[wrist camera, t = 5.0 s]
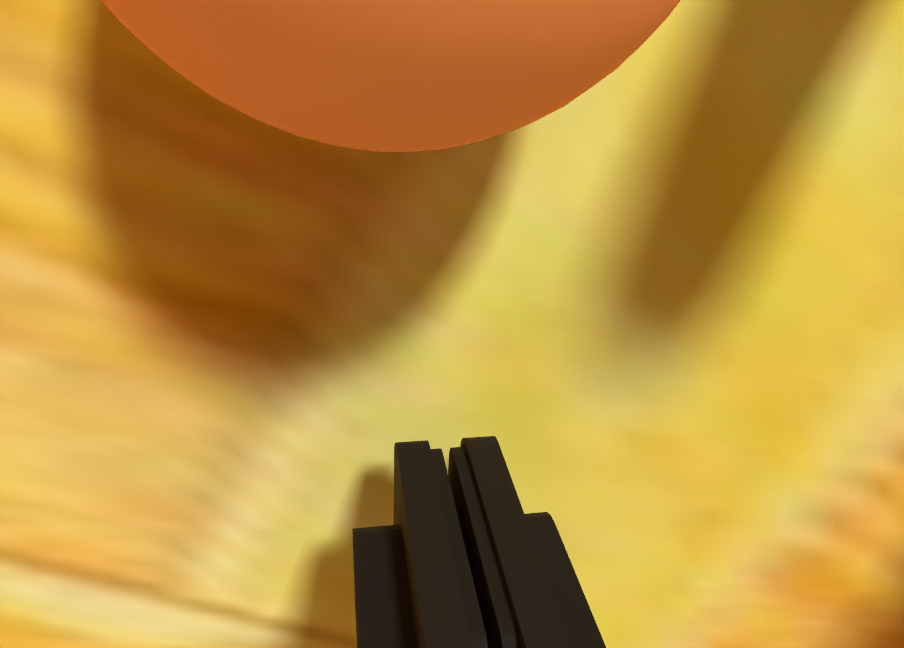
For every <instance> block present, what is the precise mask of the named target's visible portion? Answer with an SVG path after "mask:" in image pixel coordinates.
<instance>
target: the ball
mask: <svg viewBox="0 0 904 648" xmlns="http://www.w3.org/2000/svg"><path fill="white" fill-rule="evenodd" d="M101 1H102V2H103V3H104V4H105V5H106V7H107V8H108V9H109V10H110V11H111V12H112V13H113V14H114V16H115V17H116V18H117V19H118V20H119V21H120V22H121V23H122V24H123V25H124V26H125V27H126V28H127V29H128V30H129V31H130V32H131V33H132V34H133V35H134V36H136V37H137V38H138V39H139V40H140V41H141V42H142V43H143V44H144V45H145V46H146V47H147V48H148V49H150V50H151V51H152V52H153V53H154V54H155V55H157V56H158V57H159V58H160V59H162V60H163V61H164V62H165V63H167V64H168V65H169V66H170V67H172V68H173V69H174V70H175V71H177V72H178V73H179V74H181V75H182V76H184V77H185V78H186V79H188V80H189V81H191V82H192V83H193V84H195V85H196V86H198V87H199V88H201V89H202V90H203V91H205V92H206V93H208V94H209V95H210V96H212V97H214V98H216V99H218V100H220V101H221V102H223V103H225V104H227V105H229V106H231V107H233V108H235V109H236V110H238V111H240V112H242V113H244V114H246V115H248V116H250V117H252V118H254V119H256V120H259V121H261V122H263V123H265V124H268V125H270V126H273V127H276V128H278V129H281V130H283V131H286V132H288V133H291V134H294V135H296V136H299V137H302V138H306V139H310V140H314V141H318V142H322V143H326V144H329V145H333V146H338V147H345V148H353V149H360V150H367V151H381V152H418V151H428V150H439V149H448V148H452V147H457V146H462V145H466V144H471V143H475V142H480V141H483V140H486V139H489V138H492V137H495V136H498V135H500V134H503V133H506V132H509V131H512V130H515V129H517V128H520V127H522V126H525V125H527V124H530V123H532V122H534V121H536V120H538V119H540V118H542V117H544V116H546V115H548V114H550V113H552V112H554V111H556V110H558V109H560V108H562V107H564V106H565V105H567V104H568V103H569V102H571V101H572V100H574V99H575V98H577V97H578V96H579V95H581V94H582V93H584V92H585V91H587V90H588V89H589V88H591V87H592V86H594V85H595V84H596V83H598V82H599V81H601V80H602V79H603V78H605V77H606V76H607V75H609V74H610V73H612V72H613V71H614V70H616V69H617V68H618V67H619V66H620V65H621V64H622V63H623V62H624V61H625V60H626V59H627V58H628V57H629V56H630V55H632V54H633V53H634V52H635V51H636V50H637V49H638V48H639V47H640V46H641V45H642V44H643V43H644V42H645V41H646V40H647V39H648V38H649V37H650V36H651V34H652V33H653V32H654V31H655V30H656V29H657V28H658V27H659V26H660V25H661V24H662V23H663V22H664V21H665V20H666V18H667V17H668V16H669V15H670V13H671V12H672V11H673V9H674V8H675V7H676V6H677V4H678V3H679V2H680V0H101Z"/></svg>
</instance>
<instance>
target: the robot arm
mask: <svg viewBox="0 0 904 648" xmlns="http://www.w3.org/2000/svg"><path fill="white" fill-rule="evenodd" d="M353 557H354V585H355V610H356V633H357V648H606V646H605V644H604V641H603V639H602V637H601V634H600V632H599V629H598V627H597V624H596V622H595V620H594V617H593V615H592V612H591V610H590V607H589V605H588V603H587V600H586V598H585V595H584V593H583V591H582V588H581V586H580V583H579V581H578V578H577V576H576V574H575V571H574V569H573V566H572V564H571V561H570V559H569V557H568V554H567V552H566V549H565V547H564V544H563V542H562V540H561V537H560V535H559V532H558V530H557V528H556V525H555V523H554V521H553V519H552V517H551V515H550V514H549V513H547V512H542V513H530V514H524V512H523V509H522V507H521V504H520V501H519V498H518V496H517V493H516V490H515V487H514V485H513V482H512V479H511V476H510V474H509V471H508V468H507V465H506V463H505V460H504V457H503V454H502V452H501V449H500V446H499V443H498V441H497V439H496V437H495V436H489V437H474V438H463V439H462V440H461V446H460V447H456V448H450V452H449V468H448V473H447V469H446V465H445V461H444V457H443V453H442V450H441V449H430V446H429V442H428V441H413V442H398V443H395V447H394V525H391V526H379V527H368V528H356V529H353Z"/></svg>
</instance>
